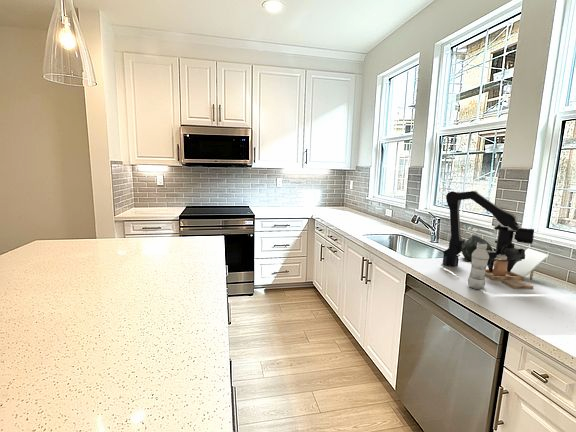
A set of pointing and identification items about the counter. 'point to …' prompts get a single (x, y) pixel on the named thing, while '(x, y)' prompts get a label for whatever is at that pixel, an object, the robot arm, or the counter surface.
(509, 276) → the wooden tray
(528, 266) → the propped lid
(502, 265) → the pot
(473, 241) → the squash
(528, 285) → the stand
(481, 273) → the plastic bottle
